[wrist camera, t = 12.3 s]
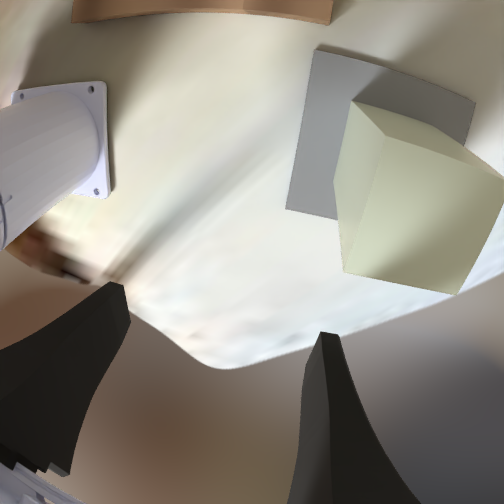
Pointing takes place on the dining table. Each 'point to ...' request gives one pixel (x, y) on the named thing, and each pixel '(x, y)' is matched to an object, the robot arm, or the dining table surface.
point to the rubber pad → (336, 113)
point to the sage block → (411, 201)
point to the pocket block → (202, 8)
